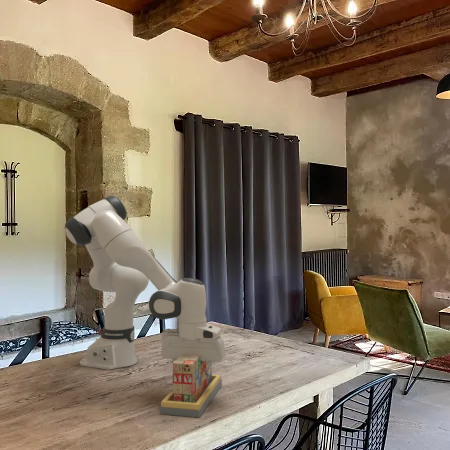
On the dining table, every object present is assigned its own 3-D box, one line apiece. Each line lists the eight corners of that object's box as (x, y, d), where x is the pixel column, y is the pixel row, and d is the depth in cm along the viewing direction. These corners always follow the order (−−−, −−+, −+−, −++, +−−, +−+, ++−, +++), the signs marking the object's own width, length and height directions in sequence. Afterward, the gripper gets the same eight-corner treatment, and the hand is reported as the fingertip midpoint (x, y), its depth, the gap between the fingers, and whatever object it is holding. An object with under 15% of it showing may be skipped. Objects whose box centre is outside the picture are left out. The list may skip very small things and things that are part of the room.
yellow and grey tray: (159, 414, 136) (159, 402, 136) (188, 382, 162) (188, 372, 162) (199, 417, 133) (199, 405, 133) (221, 385, 160) (221, 374, 160)
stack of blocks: (194, 379, 160) (193, 343, 160) (212, 380, 158) (211, 344, 158) (172, 403, 139) (172, 362, 139) (192, 405, 137) (192, 363, 137)
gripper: (158, 330, 147) (158, 374, 147) (221, 333, 142) (221, 379, 142) (165, 326, 153) (165, 368, 153) (225, 329, 148) (226, 372, 149)
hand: (193, 373), depth 148 cm, fingers open, 8 cm apart
